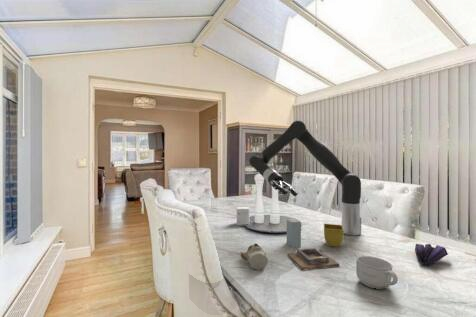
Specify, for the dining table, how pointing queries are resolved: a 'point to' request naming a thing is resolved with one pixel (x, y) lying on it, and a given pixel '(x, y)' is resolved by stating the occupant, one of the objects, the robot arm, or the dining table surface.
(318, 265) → the keyed seat
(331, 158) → the robot arm
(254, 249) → the ceramic sculpture
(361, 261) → the teacup
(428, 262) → the crystal
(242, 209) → the small box
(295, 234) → the keyed plug
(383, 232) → the dining table surface
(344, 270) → the dining table surface
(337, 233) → the flower pot
